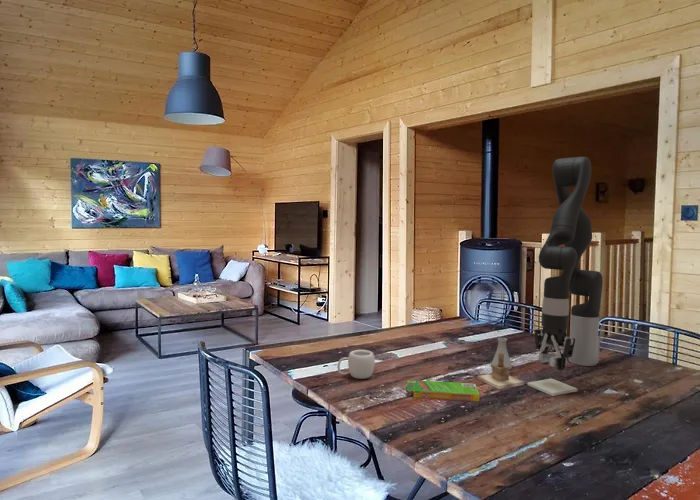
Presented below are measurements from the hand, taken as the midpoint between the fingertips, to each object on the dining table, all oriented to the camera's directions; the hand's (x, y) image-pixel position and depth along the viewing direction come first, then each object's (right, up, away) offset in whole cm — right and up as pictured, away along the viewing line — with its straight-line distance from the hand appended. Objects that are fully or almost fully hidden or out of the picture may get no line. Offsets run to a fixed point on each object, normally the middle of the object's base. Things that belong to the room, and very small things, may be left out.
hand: (552, 366), depth 154 cm
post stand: (-14, -6, +6) cm, 16 cm away
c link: (0, +1, 0) cm, 1 cm away
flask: (-9, -5, +21) cm, 24 cm away
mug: (-60, -5, +9) cm, 61 cm away
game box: (-35, -7, -5) cm, 36 cm away
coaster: (0, -7, +1) cm, 7 cm away
